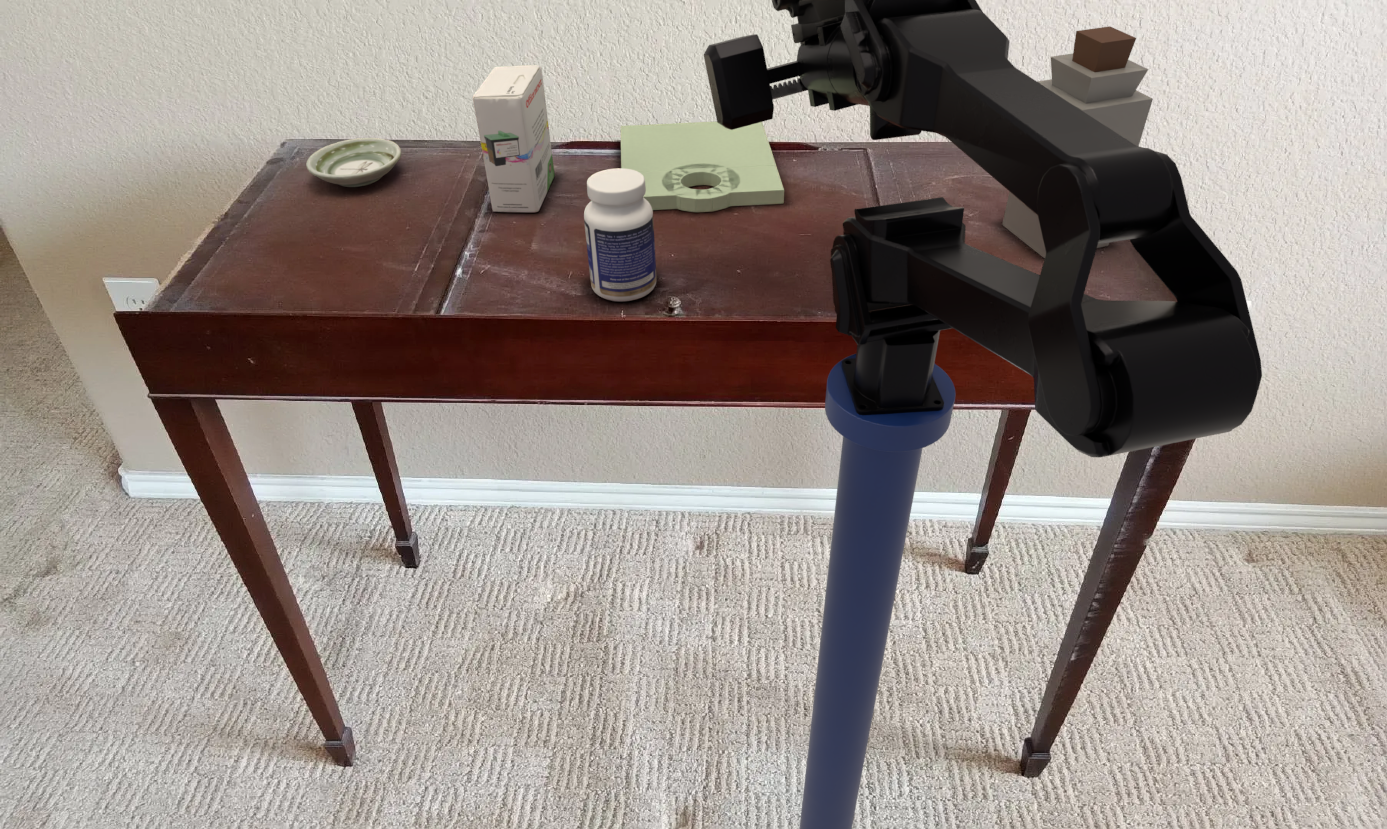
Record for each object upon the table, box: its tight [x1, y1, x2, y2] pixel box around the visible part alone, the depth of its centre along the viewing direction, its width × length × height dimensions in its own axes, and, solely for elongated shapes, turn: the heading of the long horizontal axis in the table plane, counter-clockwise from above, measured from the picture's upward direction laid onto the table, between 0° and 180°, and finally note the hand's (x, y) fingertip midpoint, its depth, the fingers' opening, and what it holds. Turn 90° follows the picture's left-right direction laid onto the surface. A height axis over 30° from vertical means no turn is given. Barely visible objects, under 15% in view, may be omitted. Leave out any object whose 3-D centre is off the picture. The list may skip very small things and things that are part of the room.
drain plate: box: [619, 120, 785, 213], centre depth 97 cm, size 19×16×2 cm
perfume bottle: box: [1001, 25, 1154, 259], centre depth 79 cm, size 7×7×18 cm
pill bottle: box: [583, 167, 657, 302], centre depth 76 cm, size 6×6×10 cm
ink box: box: [472, 64, 555, 213], centre depth 90 cm, size 8×5×12 cm, turn 175°
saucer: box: [305, 137, 402, 188], centre depth 97 cm, size 10×10×2 cm
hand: (793, 57), depth 78 cm, fingers open, 9 cm apart
